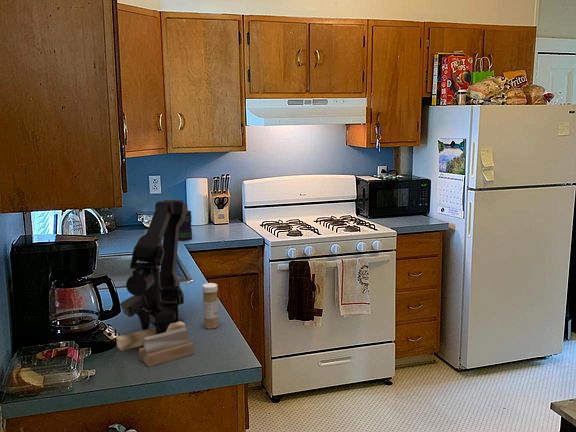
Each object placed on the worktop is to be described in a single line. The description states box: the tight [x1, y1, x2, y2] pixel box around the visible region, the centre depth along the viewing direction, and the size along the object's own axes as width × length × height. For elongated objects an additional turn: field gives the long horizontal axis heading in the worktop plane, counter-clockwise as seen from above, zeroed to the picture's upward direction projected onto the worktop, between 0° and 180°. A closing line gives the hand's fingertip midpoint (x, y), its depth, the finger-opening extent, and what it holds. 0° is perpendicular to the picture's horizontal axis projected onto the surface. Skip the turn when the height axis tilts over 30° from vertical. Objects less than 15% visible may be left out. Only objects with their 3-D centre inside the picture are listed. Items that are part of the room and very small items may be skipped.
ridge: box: [138, 328, 195, 368], centre depth 152 cm, size 6×13×6 cm, turn 129°
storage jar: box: [178, 210, 193, 242], centre depth 302 cm, size 10×10×15 cm
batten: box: [116, 321, 187, 352], centre depth 164 cm, size 20×3×4 cm, turn 128°
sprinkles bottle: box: [201, 282, 219, 330], centre depth 174 cm, size 5×5×13 cm
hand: (152, 337), depth 164 cm, fingers open, 9 cm apart
